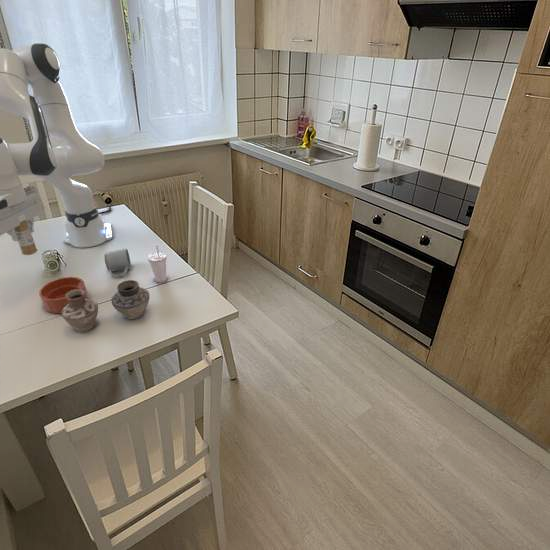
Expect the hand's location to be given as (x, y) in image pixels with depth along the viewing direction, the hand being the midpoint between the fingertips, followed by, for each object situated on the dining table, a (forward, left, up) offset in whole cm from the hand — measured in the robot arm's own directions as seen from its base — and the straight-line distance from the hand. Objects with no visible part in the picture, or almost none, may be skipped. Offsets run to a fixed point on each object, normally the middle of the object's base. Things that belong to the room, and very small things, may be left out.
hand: (24, 236), depth 125 cm
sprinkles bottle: (0, 0, -6) cm, 6 cm away
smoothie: (+2, +40, -20) cm, 45 cm away
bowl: (+10, +10, -20) cm, 24 cm away
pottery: (+22, +25, -20) cm, 40 cm away
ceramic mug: (-7, +25, -20) cm, 33 cm away
